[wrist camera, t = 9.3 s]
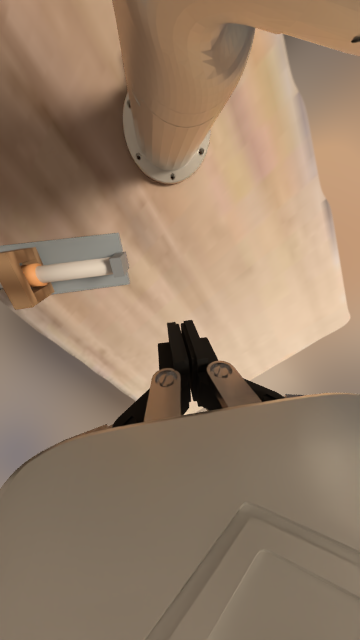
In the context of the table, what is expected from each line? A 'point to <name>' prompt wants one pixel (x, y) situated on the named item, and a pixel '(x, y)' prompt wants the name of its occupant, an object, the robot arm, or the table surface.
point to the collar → (21, 278)
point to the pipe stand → (76, 263)
